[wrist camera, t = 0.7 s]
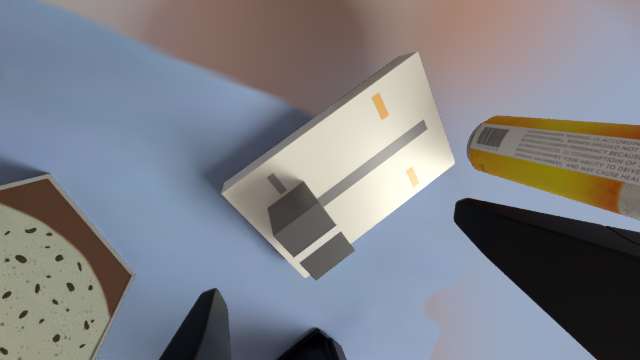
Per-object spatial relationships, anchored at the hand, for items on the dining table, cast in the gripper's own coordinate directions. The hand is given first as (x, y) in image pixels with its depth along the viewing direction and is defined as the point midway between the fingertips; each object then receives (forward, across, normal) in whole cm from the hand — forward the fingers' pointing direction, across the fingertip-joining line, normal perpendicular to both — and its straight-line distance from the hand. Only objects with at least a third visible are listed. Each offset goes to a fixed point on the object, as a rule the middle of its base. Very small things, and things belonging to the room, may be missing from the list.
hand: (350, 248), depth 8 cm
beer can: (+13, -22, +5) cm, 26 cm away
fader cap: (+10, 0, +5) cm, 11 cm away
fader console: (+12, -5, +3) cm, 14 cm away
